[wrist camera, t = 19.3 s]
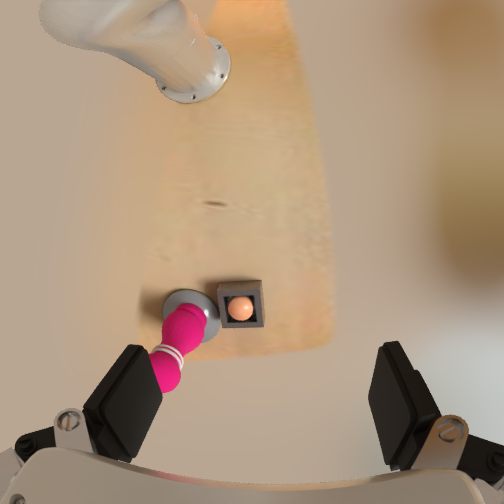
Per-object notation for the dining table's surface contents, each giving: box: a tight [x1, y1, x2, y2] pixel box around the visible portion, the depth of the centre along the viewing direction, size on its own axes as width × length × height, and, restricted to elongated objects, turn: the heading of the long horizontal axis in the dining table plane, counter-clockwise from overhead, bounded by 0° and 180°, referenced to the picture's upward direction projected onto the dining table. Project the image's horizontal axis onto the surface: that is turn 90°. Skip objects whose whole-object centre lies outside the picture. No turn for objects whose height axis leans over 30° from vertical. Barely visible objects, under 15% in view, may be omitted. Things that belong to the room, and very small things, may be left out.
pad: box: [162, 289, 221, 343], centre depth 51 cm, size 11×11×1 cm
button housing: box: [216, 280, 265, 328], centre depth 48 cm, size 7×7×4 cm
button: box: [228, 295, 254, 320], centre depth 47 cm, size 4×4×2 cm
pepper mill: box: [149, 303, 207, 393], centre depth 41 cm, size 7×7×20 cm
